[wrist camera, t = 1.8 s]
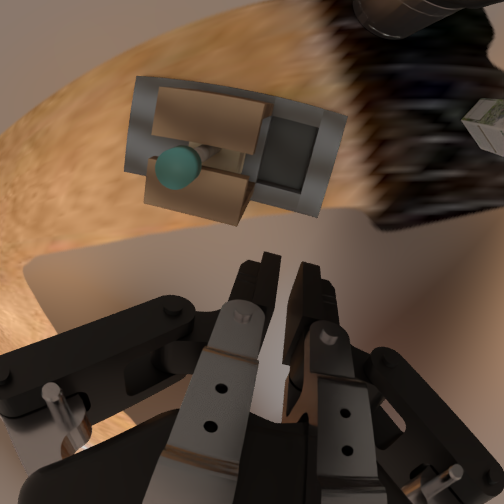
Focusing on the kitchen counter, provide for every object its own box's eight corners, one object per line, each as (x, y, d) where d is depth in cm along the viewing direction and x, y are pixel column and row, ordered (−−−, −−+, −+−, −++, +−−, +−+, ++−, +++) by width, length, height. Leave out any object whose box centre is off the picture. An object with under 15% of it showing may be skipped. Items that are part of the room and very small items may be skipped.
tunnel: (144, 76, 37) (86, 73, 25) (344, 115, 37) (367, 121, 24) (131, 167, 44) (76, 195, 32) (316, 211, 43) (322, 258, 31)
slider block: (207, 110, 36) (144, 119, 21) (253, 119, 36) (220, 131, 21) (197, 162, 40) (135, 203, 24) (241, 172, 39) (204, 220, 24)
